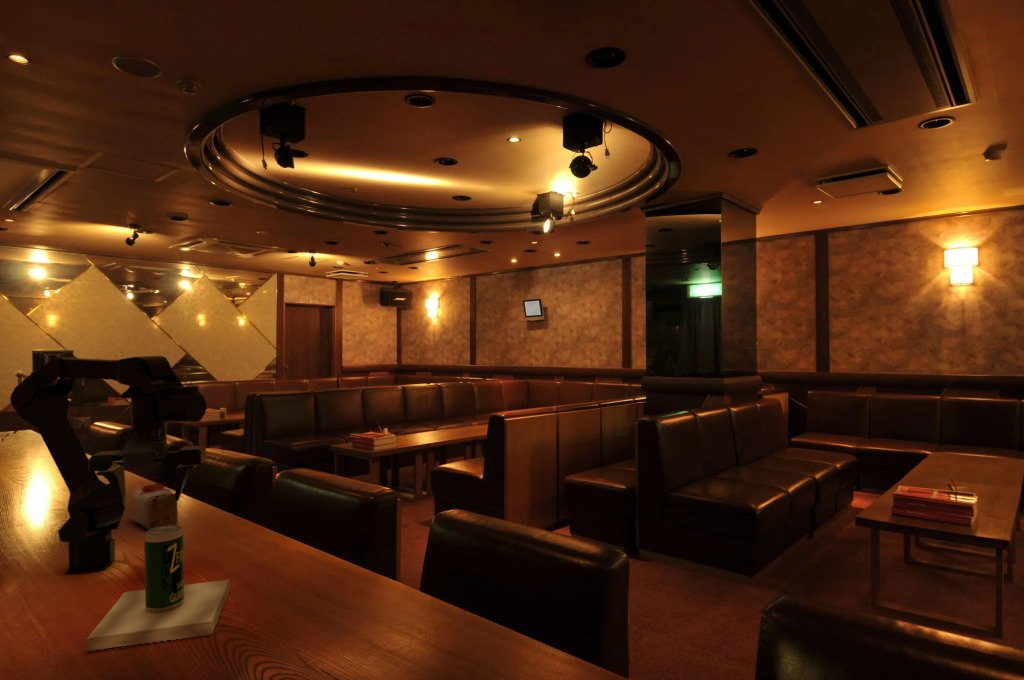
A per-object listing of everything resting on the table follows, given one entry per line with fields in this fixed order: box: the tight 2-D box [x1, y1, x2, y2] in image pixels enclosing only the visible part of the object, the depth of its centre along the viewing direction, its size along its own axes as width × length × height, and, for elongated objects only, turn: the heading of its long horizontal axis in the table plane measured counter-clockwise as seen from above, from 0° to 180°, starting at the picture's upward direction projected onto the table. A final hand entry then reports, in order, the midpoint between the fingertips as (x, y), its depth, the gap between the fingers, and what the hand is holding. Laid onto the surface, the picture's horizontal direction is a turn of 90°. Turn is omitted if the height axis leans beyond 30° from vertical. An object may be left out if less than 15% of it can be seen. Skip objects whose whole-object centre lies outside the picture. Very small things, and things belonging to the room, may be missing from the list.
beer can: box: [143, 524, 185, 613], centre depth 94 cm, size 5×5×12 cm
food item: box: [130, 482, 179, 530], centre depth 143 cm, size 14×8×10 cm, turn 50°
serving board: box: [86, 579, 231, 652], centre depth 94 cm, size 16×16×2 cm
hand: (150, 502), depth 113 cm, fingers open, 9 cm apart
